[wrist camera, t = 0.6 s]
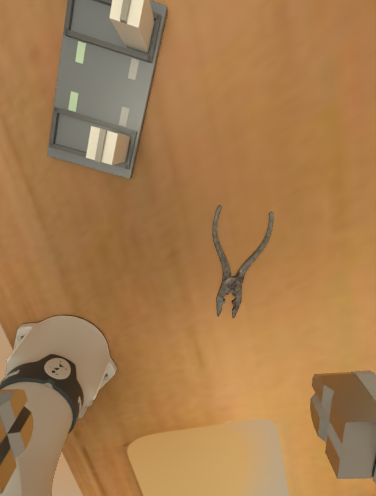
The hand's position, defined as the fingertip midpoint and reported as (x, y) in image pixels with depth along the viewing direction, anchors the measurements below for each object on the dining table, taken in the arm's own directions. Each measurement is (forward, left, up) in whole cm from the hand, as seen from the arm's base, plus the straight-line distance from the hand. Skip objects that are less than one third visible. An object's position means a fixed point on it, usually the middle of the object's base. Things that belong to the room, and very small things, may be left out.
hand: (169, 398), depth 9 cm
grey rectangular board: (+7, +16, -40) cm, 44 cm away
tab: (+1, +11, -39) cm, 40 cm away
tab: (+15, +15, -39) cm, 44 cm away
